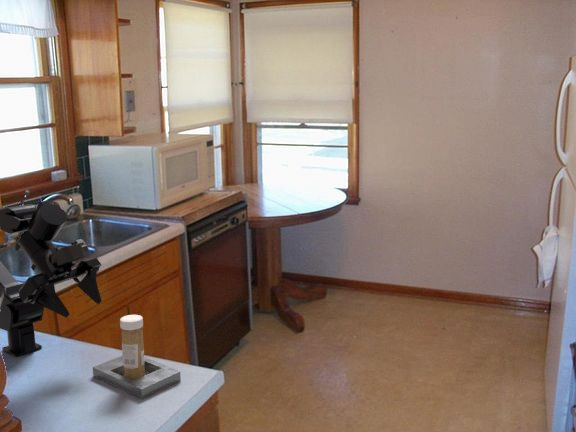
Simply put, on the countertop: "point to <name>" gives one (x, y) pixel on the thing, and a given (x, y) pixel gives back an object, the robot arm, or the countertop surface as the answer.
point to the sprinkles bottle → (132, 346)
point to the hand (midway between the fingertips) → (84, 309)
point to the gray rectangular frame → (141, 386)
